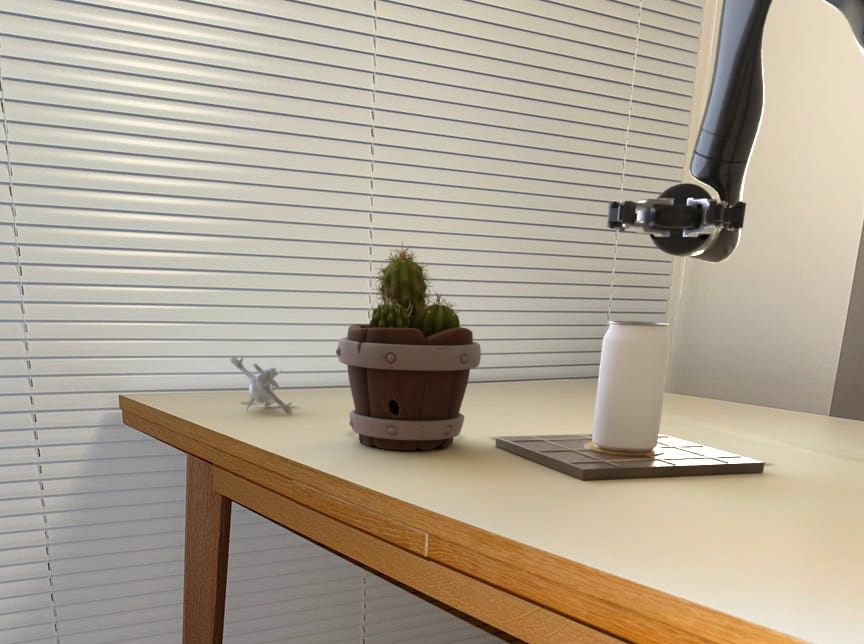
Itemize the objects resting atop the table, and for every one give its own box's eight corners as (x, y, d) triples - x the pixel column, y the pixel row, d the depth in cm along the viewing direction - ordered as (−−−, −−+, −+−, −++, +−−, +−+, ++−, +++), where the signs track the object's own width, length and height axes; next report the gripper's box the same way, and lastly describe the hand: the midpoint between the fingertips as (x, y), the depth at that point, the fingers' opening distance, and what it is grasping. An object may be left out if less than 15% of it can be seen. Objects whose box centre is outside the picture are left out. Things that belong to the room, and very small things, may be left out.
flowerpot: (492, 456, 96) (508, 240, 89) (340, 455, 94) (344, 233, 87) (461, 433, 110) (473, 243, 103) (327, 431, 108) (329, 238, 100)
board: (654, 441, 109) (656, 431, 108) (763, 472, 93) (765, 461, 93) (494, 446, 102) (495, 435, 102) (582, 480, 86) (583, 468, 86)
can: (668, 448, 97) (685, 324, 93) (635, 455, 93) (652, 325, 89) (612, 439, 102) (626, 320, 97) (578, 445, 97) (591, 321, 93)
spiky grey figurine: (307, 408, 126) (308, 391, 117) (276, 441, 126) (274, 427, 117) (250, 355, 125) (246, 334, 116) (219, 388, 125) (212, 370, 116)
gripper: (627, 187, 114) (602, 172, 100) (754, 186, 109) (747, 170, 95) (620, 255, 117) (595, 250, 103) (744, 257, 112) (736, 252, 98)
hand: (668, 212), depth 99 cm, fingers open, 8 cm apart
